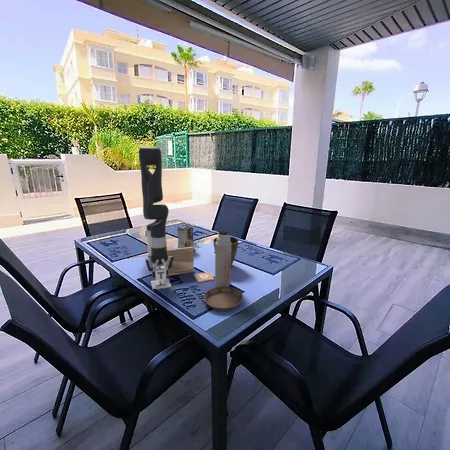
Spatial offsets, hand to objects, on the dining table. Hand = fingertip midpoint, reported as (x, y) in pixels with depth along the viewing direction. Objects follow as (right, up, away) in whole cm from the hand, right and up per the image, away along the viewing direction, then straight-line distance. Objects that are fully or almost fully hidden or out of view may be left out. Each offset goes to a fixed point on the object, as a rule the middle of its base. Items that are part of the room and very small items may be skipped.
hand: (160, 276), depth 131 cm
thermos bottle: (+31, -4, +3) cm, 32 cm away
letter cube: (0, 0, 0) cm, 0 cm away
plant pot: (+33, +2, +26) cm, 42 cm away
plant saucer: (+32, -9, -13) cm, 36 cm away
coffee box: (+5, +9, +50) cm, 51 cm away
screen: (+6, -1, +15) cm, 16 cm away
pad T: (0, -4, +1) cm, 4 cm away
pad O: (+21, -2, +10) cm, 23 cm away
